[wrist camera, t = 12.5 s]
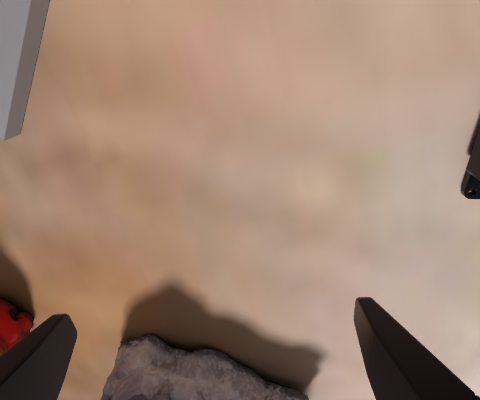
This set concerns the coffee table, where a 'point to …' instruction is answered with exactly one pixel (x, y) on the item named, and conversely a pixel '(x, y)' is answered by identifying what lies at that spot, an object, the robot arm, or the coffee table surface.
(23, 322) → the red bumpy rounded piece
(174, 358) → the geode
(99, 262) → the coffee table surface
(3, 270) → the coffee table surface
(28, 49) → the shelf board
